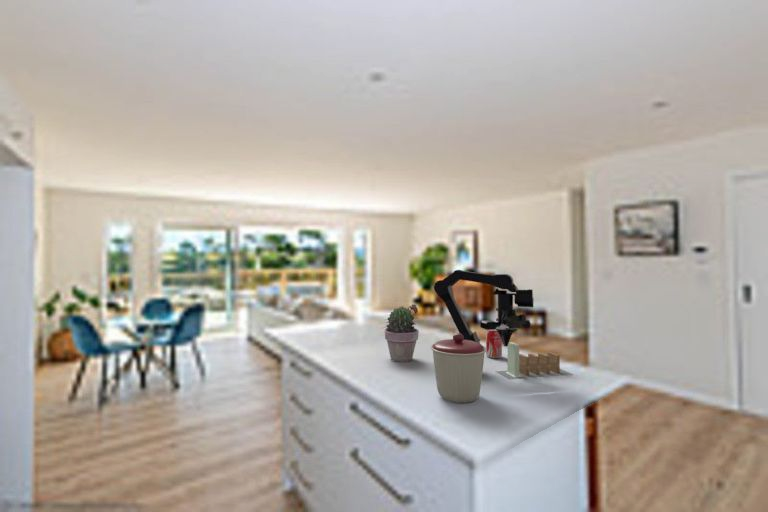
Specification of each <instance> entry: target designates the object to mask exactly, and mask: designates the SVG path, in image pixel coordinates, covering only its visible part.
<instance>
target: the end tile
mask: <svg viewBox="0 0 768 512" xmlns="http://www.w3.org/2000/svg"><path fill="white" fill-rule="evenodd" d="M547 355H548V356H550V371H552V372H554V373H560V369H561V368H560V366H561V365H560V364H561V363H560V359H561V358H560V354H557V353H554V352H552V351H550V352H547Z"/></svg>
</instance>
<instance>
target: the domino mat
mask: <svg viewBox="0 0 768 512" xmlns="http://www.w3.org/2000/svg"><path fill="white" fill-rule="evenodd" d="M494 372H495V373H496V374H498V375H500V376H502V377H504V378H506V379H507V380H518V379H532V378H533V379H534V378H545V377H555V376H557V377H558V376H568V375H569V376H570V375H573V373H572V372H569V371H567V370H564V369H562V368H560V373H554V372H552V371H550V374H545V373H543V372H541V371H540V375H535V374H533V373H531V372H529V375H528V376H525V375H523V374H521V373H519V376H513V375H511V374H510V373H508V370H498V371H497V370H496V371H494Z"/></svg>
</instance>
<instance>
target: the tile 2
mask: <svg viewBox="0 0 768 512" xmlns="http://www.w3.org/2000/svg"><path fill="white" fill-rule="evenodd" d="M519 373H521V374H523V375H525V376H528V375H529V357H528V355H525V354H523V353H519Z"/></svg>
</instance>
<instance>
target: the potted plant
mask: <svg viewBox="0 0 768 512" xmlns="http://www.w3.org/2000/svg"><path fill="white" fill-rule="evenodd" d="M412 311H413V313H414V314H413V313H412ZM418 311H419V308H418V307H417V305H416V304H415V303H414V304H411V305H410V306H409V307H404V306H399V307H398V308H397V307H394V308H393V311H390V314H389V317H387V318H386V320H387V321H386V322H385V323H386V325H385V326H384V327H383V329H384V328H385V330H384V339H385V340H386V342H387V343H386V344H387V348H388V353H389V356H390V360H392V361H394V362H402V363H403V362H405V361H406V362H410V361H412V360H413V357H414V354H415V353H414V352H415V349H416V343H417V341H418V340H419V334H420V333H419V330H418V329H417V328H415V326H414V325H416V322H415V321H414V320H415V319H416V320H417V319H418V317H416V316H415V314H418ZM385 316H388V314H387V315H385ZM387 323H388V324H387ZM379 329H380V327H379ZM379 329H378V330H379ZM406 362H405V363H406Z"/></svg>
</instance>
